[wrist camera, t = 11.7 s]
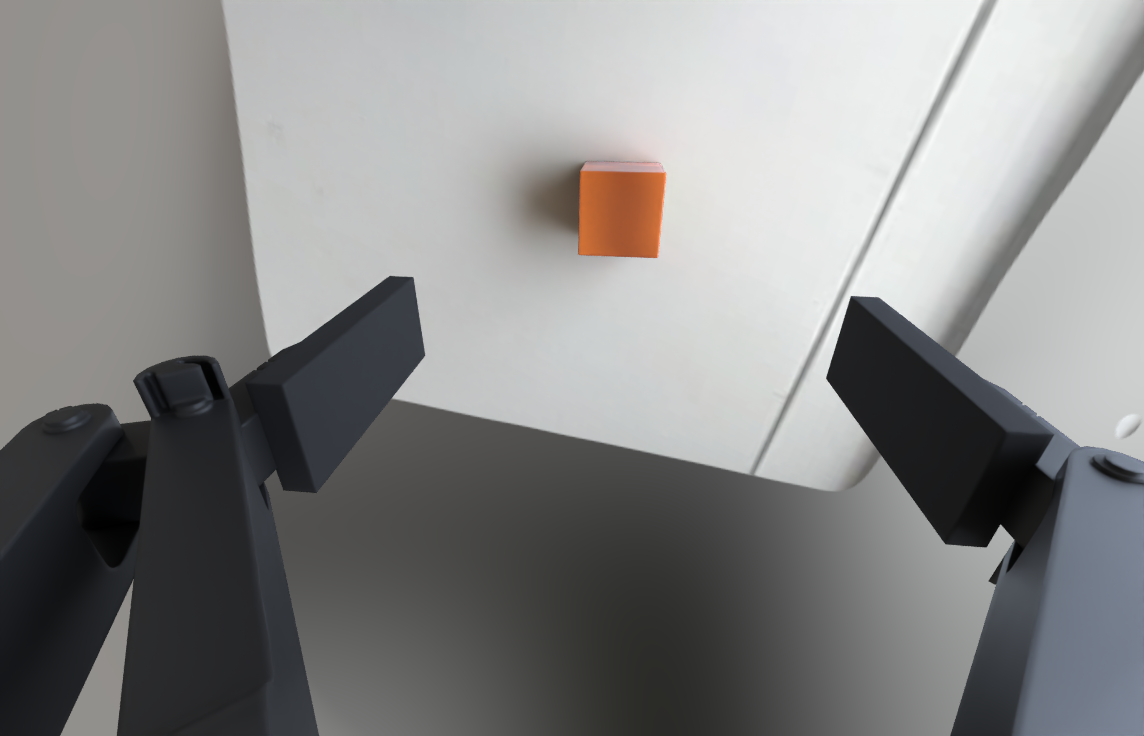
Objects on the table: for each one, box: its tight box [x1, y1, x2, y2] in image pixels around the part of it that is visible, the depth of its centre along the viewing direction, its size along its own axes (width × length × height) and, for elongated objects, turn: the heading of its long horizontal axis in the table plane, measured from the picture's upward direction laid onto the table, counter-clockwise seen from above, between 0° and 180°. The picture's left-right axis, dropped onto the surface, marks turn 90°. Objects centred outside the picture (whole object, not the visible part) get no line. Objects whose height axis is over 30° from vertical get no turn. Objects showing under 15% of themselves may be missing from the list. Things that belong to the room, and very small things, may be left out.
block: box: [578, 161, 666, 258], centre depth 31 cm, size 5×5×5 cm
